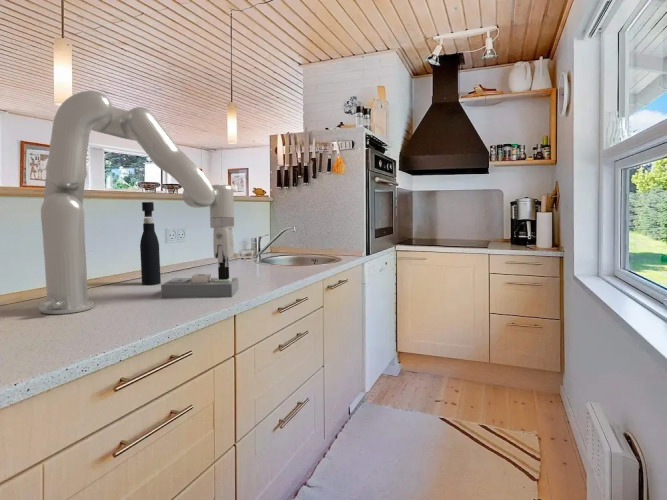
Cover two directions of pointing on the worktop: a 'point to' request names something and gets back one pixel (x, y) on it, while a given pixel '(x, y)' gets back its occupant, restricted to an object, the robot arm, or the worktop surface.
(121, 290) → the worktop surface
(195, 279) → the key cream
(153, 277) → the wine bottle
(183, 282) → the key blue
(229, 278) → the key sage
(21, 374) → the worktop surface
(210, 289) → the key panel
